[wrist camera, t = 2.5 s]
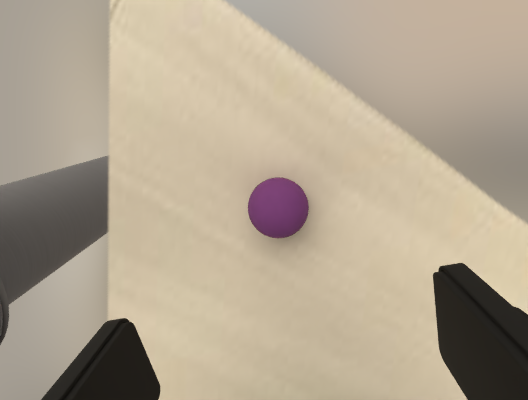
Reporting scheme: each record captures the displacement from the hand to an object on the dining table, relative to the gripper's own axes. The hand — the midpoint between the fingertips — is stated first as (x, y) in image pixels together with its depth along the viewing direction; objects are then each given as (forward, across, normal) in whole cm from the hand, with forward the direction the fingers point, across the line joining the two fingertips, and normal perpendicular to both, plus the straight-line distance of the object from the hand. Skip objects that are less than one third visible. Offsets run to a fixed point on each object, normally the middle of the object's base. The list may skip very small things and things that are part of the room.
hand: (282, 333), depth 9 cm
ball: (+11, 0, 0) cm, 11 cm away
